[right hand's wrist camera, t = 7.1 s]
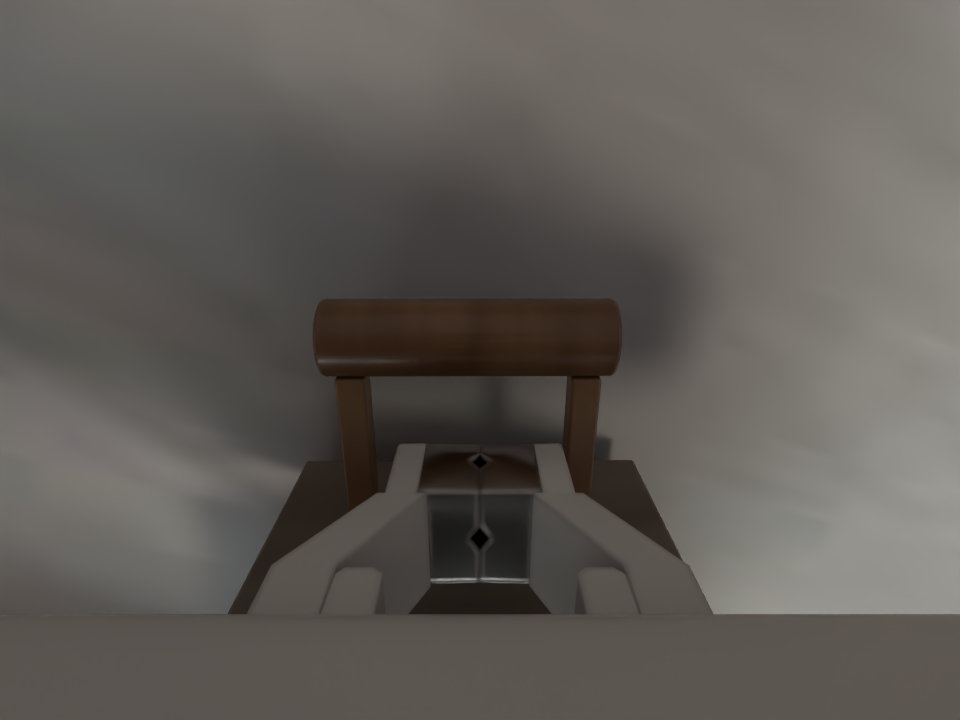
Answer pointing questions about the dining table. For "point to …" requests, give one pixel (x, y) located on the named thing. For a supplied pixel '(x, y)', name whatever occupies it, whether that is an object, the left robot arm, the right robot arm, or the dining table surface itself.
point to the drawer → (458, 352)
